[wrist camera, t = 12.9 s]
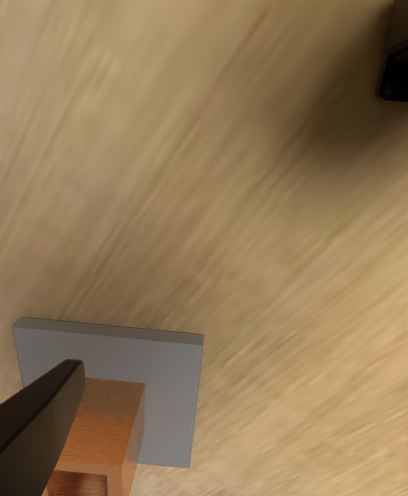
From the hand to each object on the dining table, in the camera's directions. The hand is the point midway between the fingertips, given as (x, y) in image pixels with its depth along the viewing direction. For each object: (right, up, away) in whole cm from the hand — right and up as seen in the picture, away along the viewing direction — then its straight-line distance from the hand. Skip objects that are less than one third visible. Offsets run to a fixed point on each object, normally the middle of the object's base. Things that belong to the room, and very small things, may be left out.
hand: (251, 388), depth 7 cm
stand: (-9, -9, +17) cm, 21 cm away
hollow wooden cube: (-9, -9, +16) cm, 20 cm away
